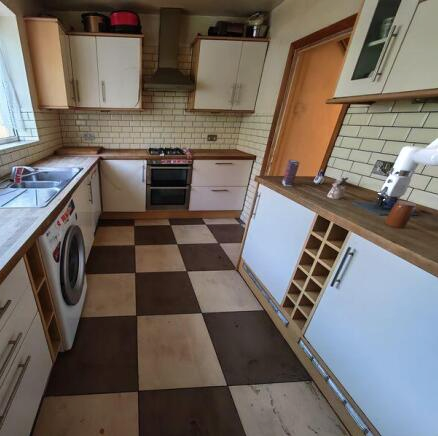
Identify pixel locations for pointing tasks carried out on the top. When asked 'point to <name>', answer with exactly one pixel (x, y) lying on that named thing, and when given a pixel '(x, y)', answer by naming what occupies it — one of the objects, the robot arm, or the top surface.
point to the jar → (400, 214)
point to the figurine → (338, 189)
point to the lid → (389, 202)
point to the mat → (375, 208)
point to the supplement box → (290, 172)
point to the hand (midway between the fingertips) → (384, 207)
